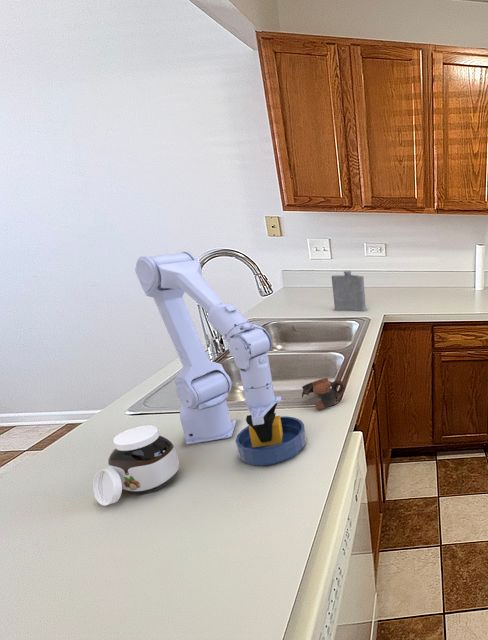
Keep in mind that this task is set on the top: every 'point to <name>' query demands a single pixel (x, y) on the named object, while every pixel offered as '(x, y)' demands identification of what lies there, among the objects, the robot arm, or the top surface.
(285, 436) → the bowl
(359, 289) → the hip flask
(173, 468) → the spread jar
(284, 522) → the top surface
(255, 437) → the sponge
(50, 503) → the top surface
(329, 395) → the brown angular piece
